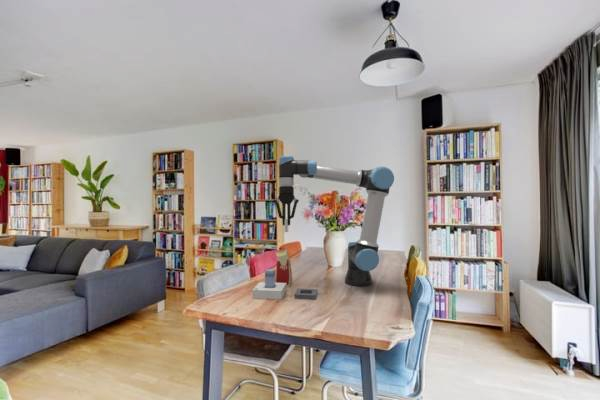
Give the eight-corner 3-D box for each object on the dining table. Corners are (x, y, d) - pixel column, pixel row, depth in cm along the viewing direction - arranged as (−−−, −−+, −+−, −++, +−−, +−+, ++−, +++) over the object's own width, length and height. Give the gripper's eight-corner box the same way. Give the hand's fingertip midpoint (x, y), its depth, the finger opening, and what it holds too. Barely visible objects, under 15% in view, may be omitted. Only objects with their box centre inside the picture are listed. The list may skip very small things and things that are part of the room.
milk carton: (292, 282, 168) (292, 247, 168) (290, 286, 159) (290, 249, 159) (276, 281, 169) (276, 246, 169) (273, 286, 160) (273, 249, 160)
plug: (275, 293, 147) (275, 269, 147) (273, 295, 143) (273, 271, 143) (267, 293, 148) (267, 269, 148) (265, 295, 144) (265, 271, 144)
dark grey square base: (317, 293, 148) (317, 289, 148) (315, 299, 138) (315, 295, 138) (297, 292, 149) (297, 288, 149) (294, 298, 139) (294, 294, 139)
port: (286, 290, 152) (286, 282, 152) (281, 299, 138) (281, 290, 138) (260, 289, 153) (260, 281, 153) (252, 298, 139) (252, 289, 139)
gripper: (299, 186, 155) (299, 231, 155) (275, 186, 157) (275, 230, 156) (297, 185, 147) (297, 232, 147) (272, 185, 149) (272, 232, 149)
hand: (286, 231), depth 152 cm, fingers closed
